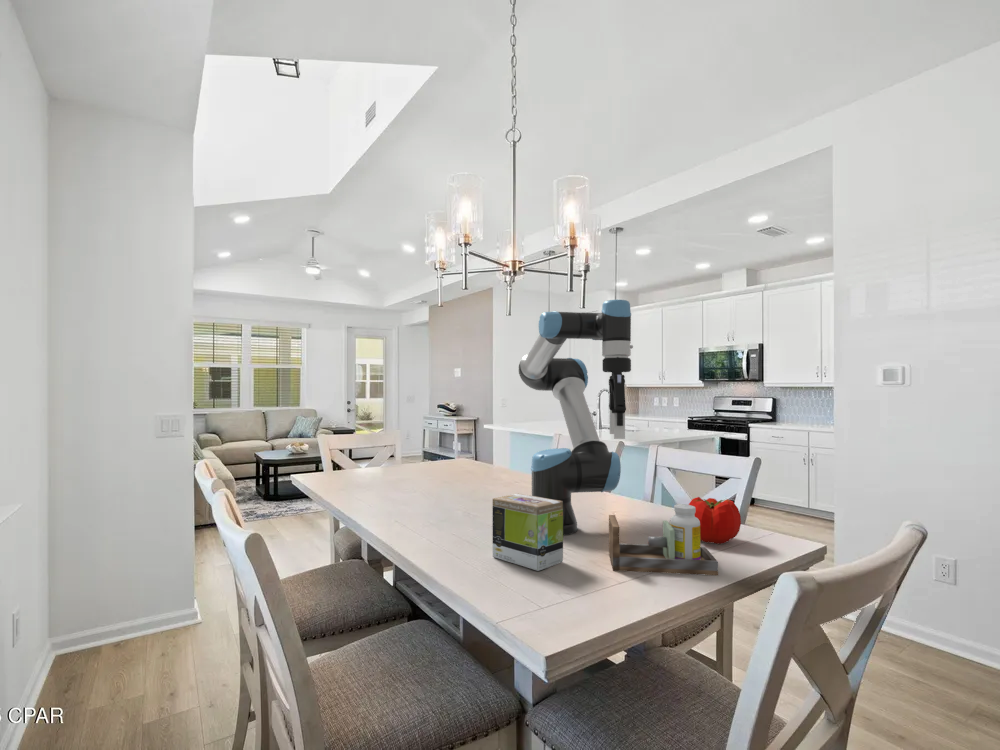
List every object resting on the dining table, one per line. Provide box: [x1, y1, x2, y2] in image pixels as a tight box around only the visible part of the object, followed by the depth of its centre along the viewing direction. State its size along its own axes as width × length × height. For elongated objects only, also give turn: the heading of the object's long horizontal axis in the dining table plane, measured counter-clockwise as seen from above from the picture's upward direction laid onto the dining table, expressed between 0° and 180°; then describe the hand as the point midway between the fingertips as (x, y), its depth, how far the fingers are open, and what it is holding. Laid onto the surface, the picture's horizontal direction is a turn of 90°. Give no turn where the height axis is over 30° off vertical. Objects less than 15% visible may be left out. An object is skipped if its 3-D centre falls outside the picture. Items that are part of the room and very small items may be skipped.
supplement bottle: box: [669, 503, 702, 560], centre depth 122 cm, size 7×7×13 cm
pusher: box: [647, 520, 675, 559], centre depth 123 cm, size 5×9×8 cm, turn 173°
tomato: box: [688, 496, 742, 545], centre depth 142 cm, size 13×14×12 cm
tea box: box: [491, 493, 564, 572], centre depth 126 cm, size 15×10×15 cm, turn 45°
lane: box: [608, 514, 719, 576], centre depth 123 cm, size 23×11×10 cm, turn 83°
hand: (616, 436), depth 140 cm, fingers open, 13 cm apart
